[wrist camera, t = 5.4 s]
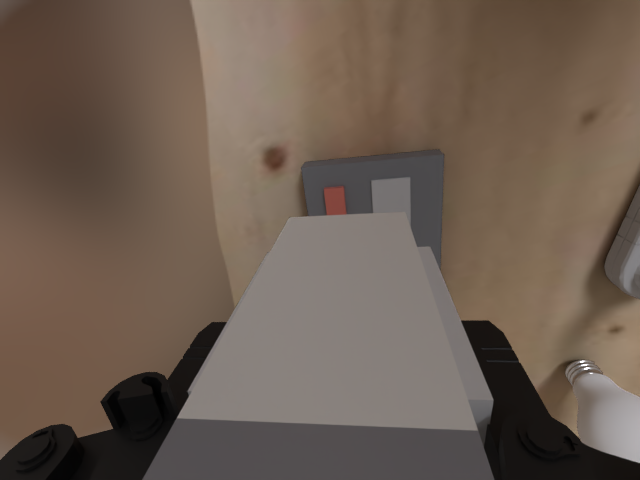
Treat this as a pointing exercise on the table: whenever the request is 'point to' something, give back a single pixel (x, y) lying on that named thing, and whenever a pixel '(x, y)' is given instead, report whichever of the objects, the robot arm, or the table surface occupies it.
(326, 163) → the socket block
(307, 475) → the plug
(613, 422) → the light bulb
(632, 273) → the electronic device
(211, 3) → the table surface
